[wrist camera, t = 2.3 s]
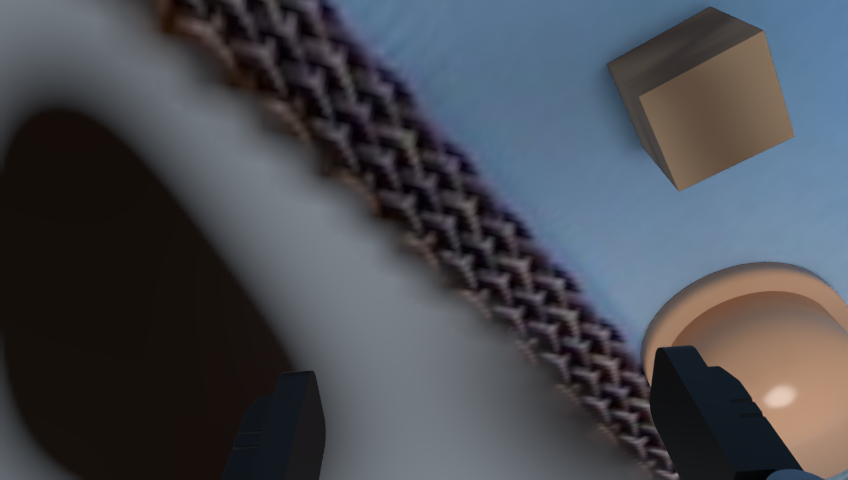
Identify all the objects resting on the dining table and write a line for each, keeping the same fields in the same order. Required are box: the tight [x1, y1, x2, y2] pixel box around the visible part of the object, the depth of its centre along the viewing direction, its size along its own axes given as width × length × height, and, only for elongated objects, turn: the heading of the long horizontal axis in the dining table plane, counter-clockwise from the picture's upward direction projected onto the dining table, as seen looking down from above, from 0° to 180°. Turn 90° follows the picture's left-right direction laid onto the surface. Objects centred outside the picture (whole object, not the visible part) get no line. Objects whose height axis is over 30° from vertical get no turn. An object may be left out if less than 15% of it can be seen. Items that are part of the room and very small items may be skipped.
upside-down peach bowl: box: [641, 262, 848, 479], centre depth 34 cm, size 12×12×7 cm
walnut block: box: [607, 7, 795, 191], centre depth 26 cm, size 5×5×5 cm
